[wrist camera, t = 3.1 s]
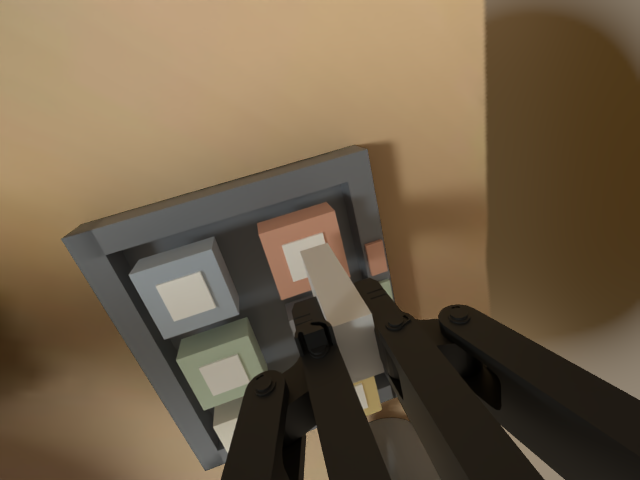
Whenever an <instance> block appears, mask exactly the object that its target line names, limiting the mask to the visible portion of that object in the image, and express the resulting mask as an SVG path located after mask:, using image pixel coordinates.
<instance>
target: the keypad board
mask: <svg viewBox="0 0 640 480" xmlns="http://www.w3.org/2000/svg"><path fill="white" fill-rule="evenodd" d="M324 202H327V203H328V204H329V205H330V206H331V207H332V208H333V209H334V210H335V214H336V218H337V222H338V226H339V230H340V235H341V239H342V243H343V247H344V252H345V256H346V260H347V264H348V268H349V273H350V277H349V278H350V280H351V281H352V283H355V282H358V281H361V280H364V279H367V278H372V279H374V280H376V281H378V282H379V283H380V284H381V286H382V287H383V289H384V290H385V291H386V292H387V294H388V295H389V296H390V297H391V299H392V300H393V301H394V302H395V300H394V294H393V289H392V283H391V277H390V272H389V266H388V261H387V255H386V250H385V244H384V239H383V233H382V227H381V222H380V216H379V211H378V205H377V200H376V194H375V188H374V183H373V177H372V172H371V166H370V161H369V155H368V150H367V149H366V148H362V147H359V146H356V145H352V146H349V147H346V148H342V149H339V150H335V151H332V152H328V153H325V154H321V155H318V156H315V157H311V158H308V159H304V160H301V161H297V162H294V163H290V164H287V165H284V166H280V167H277V168H273V169H270V170H266V171H263V172H259V173H256V174H253V175H249V176H246V177H242V178H239V179H235V180H232V181H228V182H225V183H222V184H218V185H215V186H211V187H208V188H204V189H201V190H198V191H194V192H191V193H187V194H184V195H180V196H177V197H173V198H170V199H167V200H163V201H160V202H156V203H153V204H149V205H146V206H142V207H139V208H136V209H132V210H129V211H125V212H122V213H118V214H115V215H111V216H108V217H105V218H101V219H98V220H94V221H91V222H87V223H84V224H81V225H80V226H78V227H77V228H76V229H74V230H73V231H71V232H70V233H69V234H67V235H66V236H64V237H63V238H62V239H61V240H62V241H63V243H64V244H65V246H66V248H67V249H68V251H69V253H70V254H71V256H72V257H73V259H74V261H75V262H76V264H77V265H78V267H79V269H80V270H81V272H82V273H83V275H84V277H85V278H86V280H87V281H88V283H89V285H90V286H91V288H92V290H93V291H94V293H95V294H96V296H97V298H98V299H99V301H100V302H101V304H102V306H103V307H104V309H105V310H106V312H107V314H108V315H109V317H110V319H111V320H112V322H113V323H114V325H115V327H116V328H117V330H118V331H119V333H120V335H121V336H122V338H123V339H124V341H125V343H126V344H127V346H128V347H129V349H130V351H131V352H132V354H133V356H134V357H135V359H136V360H137V362H138V364H139V365H140V367H141V368H142V370H143V372H144V373H145V375H146V376H147V378H148V380H149V381H150V383H151V384H152V386H153V388H154V389H155V391H156V393H157V394H158V396H159V397H160V399H161V401H162V402H163V404H164V405H165V407H166V409H167V410H168V412H169V413H170V415H171V417H172V418H173V420H174V421H175V423H176V425H177V426H178V428H179V430H180V431H181V433H182V434H183V436H184V438H185V439H186V441H187V442H188V444H189V446H190V447H191V449H192V450H193V452H194V454H195V455H196V457H197V459H198V460H199V462H200V463H201V465H202V467H203V468H204V470H205V471H207V470H209V469H212V468H215V467H217V466H220V465H222V464H225V462H226V459H227V455H228V453H227V451H226V450H225V448H224V446H223V444H222V442H221V441H220V439H219V437H218V435H217V433H216V432H215V430H214V428H213V420H214V408H215V407H212V408H210V409H207V410H203V408H202V406H201V405H200V403H199V401H198V399H197V397H196V396H195V394H194V392H193V390H192V388H191V387H190V385H189V383H188V381H187V379H186V378H185V376H184V374H183V372H182V370H181V369H180V367H179V365H178V363H177V362H176V358H177V354H178V350H179V346H180V342H181V339H183V338H186V337H189V336H192V335H195V334H198V333H201V332H204V331H207V330H210V329H213V328H216V327H219V326H222V325H225V324H228V323H231V322H234V321H236V320H239V319H242V318H245V317H247V318H248V320H249V322H250V325H251V327H252V330H253V332H254V335H255V337H256V339H257V342H258V344H259V347H260V349H261V352H262V354H263V357H264V359H265V361H266V364H267V368H268V370H276V371H278V372H281V373H284V372H285V371H287V370H288V369H289V368H291V367H292V366H293V365H294V364H295V363H296V362H297V360H298V358H299V356H300V354H299V351H298V348H297V345H296V342H295V339H294V335H293V332H292V329H291V326H290V323H289V320H288V315H287V311H286V307H285V304H287V303H290V302H293V301H295V300H298V299H301V298H304V297H307V296H310V295H313V293H312V290H310V291H307V292H304V293H301V294H298V295H296V296H293V297H290V298H287V299H284V300H281V297H280V294H279V292H278V289H277V286H276V283H275V280H274V277H273V274H272V272H271V269H270V266H269V263H268V260H267V257H266V254H265V251H264V249H263V246H262V243H261V240H260V237H259V234H258V227H257V223H259V222H262V221H266V220H269V219H272V218H275V217H279V216H282V215H285V214H288V213H292V212H295V211H298V210H301V209H305V208H308V207H311V206H314V205H318V204H321V203H324ZM210 237H215V240H216V242H217V244H218V247H219V249H220V252H221V254H222V257H223V259H224V261H225V264H226V266H227V269H228V271H229V274H230V276H231V279H232V281H233V283H234V286H235V288H236V291H237V293H238V296H239V315H236V316H233V317H230V318H227V319H224V320H221V321H218V322H215V323H213V324H210V325H207V326H204V327H201V328H198V329H195V330H192V331H189V332H186V333H183V334H180V335H177V336H174V337H171V338H168V339H165V340H164V338H163V336H162V335H161V333H160V331H159V329H158V327H157V326H156V324H155V322H154V320H153V318H152V317H151V315H150V313H149V311H148V309H147V308H146V306H145V304H144V302H143V300H142V299H141V297H140V295H139V293H138V291H137V290H136V288H135V286H134V284H133V282H132V281H131V279H130V277H129V274H130V272H131V271H132V269H133V268H134V266H135V265H136V263H137V262H138V260H139V259H142V258H145V257H149V256H152V255H155V254H158V253H162V252H165V251H168V250H171V249H175V248H178V247H181V246H184V245H188V244H191V243H194V242H197V241H201V240H204V239H207V238H210ZM383 368H384V372H383V373H381V374H378V375H375V376H374V378H375V382H376V386H377V390H378V395H379V399H380V403H383V402H385V401H388V400H390V399H393V395H392V391H391V386H390V382H389V377H388V372H387V370H386V368H385V366H384V365H383ZM396 397H397V395H396ZM396 397H395V398H396ZM315 428H317V425H316V426H315V427H313V428H312V429H311V430H313V429H315ZM309 431H310V430H309Z"/></svg>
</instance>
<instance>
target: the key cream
mask: <svg viewBox="0 0 640 480" xmlns="http://www.w3.org/2000/svg"><path fill="white" fill-rule="evenodd" d="M242 400H243V397H240V398H237V399H234V400H232V401H229V402H226V403H223V404H221V405H218V406H215V408H214V420H213V428H214V430H215V432H216V433H217V435H218V437H219V439H220V441H221V442H222V444H223V446H224V448H225V450H226V451H227V453H228V451H229V448H230V444H231V440H232V437H233V433H234V429H235V426H236V422H237V418H238V415H239V411H240V407H241V404H242Z"/></svg>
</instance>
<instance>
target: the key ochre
mask: <svg viewBox="0 0 640 480" xmlns="http://www.w3.org/2000/svg"><path fill="white" fill-rule="evenodd" d="M353 385H354V388H355V390H356V393H357V395H358V398H359V400H360V403H361V405H362V408H363V410H364V413H365V415H366V416H368V415H371V414H373V413H376V412H378V411H381V410H382V407H381V403H380V399H379V395H378V390H377V386H376V382H375V378H374V376H372V377H370V378H367V379H364V380H361V381H359V382H356V383H353Z"/></svg>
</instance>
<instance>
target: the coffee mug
mask: <svg viewBox="0 0 640 480" xmlns="http://www.w3.org/2000/svg"><path fill="white" fill-rule="evenodd" d="M369 425H370V428H371V430H372V433H373V435H374V438H375V440H376V443H377V445H378V448H379V450H380V453H381V455H382V458H383V460H384V463H385V465H386V468H387V470H388V473H389V475H390V478H391V480H441V479H440V477H439V475H438V473H437V471H436V469H435V467H434V466H433V464H432V462H431V460H430V458H429V456H428V454H427V452H426V450H425V448H424V447H423V445H422V443H421V441H420V439H419V437H418V435H417V433H416V431H415V430H414V428H413V426H412V424H411V422H409V421H407V420H405V419H400V418H384V419H378V420H375V421H372V422H369Z"/></svg>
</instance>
